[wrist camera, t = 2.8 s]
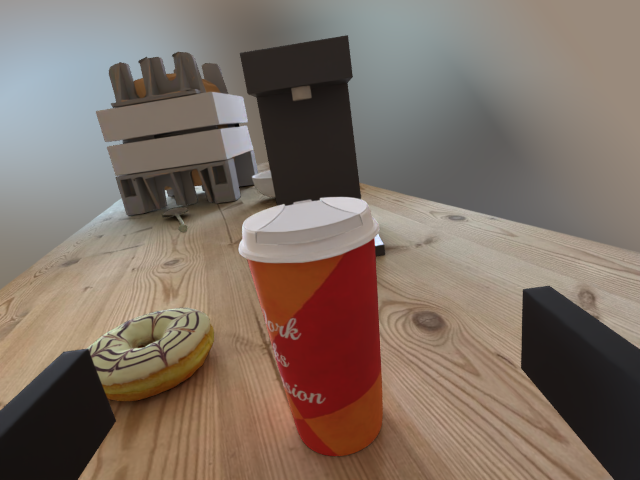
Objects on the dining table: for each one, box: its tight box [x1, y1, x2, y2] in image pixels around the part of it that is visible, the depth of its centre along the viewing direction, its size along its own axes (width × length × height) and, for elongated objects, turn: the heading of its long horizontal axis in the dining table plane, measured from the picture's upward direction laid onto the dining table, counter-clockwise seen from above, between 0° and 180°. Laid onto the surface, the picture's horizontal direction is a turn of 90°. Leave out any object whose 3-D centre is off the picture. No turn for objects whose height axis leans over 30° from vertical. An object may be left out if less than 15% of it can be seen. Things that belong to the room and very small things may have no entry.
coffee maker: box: [240, 36, 385, 256], centre depth 55 cm, size 18×16×29 cm
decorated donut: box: [87, 308, 214, 401], centre depth 33 cm, size 10×11×4 cm
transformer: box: [96, 52, 258, 215], centre depth 117 cm, size 34×33×41 cm
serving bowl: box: [252, 171, 275, 197], centre depth 101 cm, size 21×21×7 cm
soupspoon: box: [162, 207, 188, 232], centre depth 90 cm, size 22×3×7 cm
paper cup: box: [238, 197, 383, 456], centre depth 22 cm, size 8×8×14 cm
